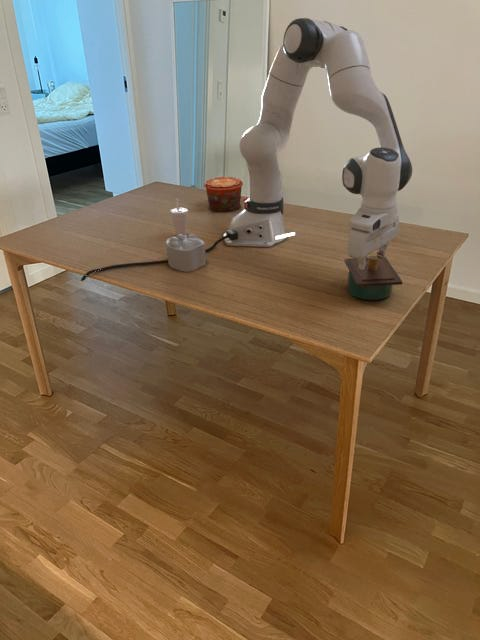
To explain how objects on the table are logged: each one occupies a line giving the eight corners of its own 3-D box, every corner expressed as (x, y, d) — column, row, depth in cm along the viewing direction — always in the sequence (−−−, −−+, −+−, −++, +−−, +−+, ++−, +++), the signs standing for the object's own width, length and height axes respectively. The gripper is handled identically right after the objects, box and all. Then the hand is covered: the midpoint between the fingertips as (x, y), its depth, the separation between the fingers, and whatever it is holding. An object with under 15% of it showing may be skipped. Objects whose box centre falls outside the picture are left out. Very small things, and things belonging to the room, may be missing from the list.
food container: (213, 216, 198) (212, 189, 193) (200, 204, 211) (198, 179, 205) (249, 209, 204) (249, 183, 198) (234, 198, 216) (233, 174, 211)
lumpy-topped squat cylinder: (186, 273, 154) (184, 247, 150) (160, 262, 162) (156, 238, 157) (210, 262, 161) (208, 237, 156) (183, 252, 168) (181, 228, 164)
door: (356, 286, 130) (358, 271, 128) (344, 261, 144) (345, 247, 141) (402, 284, 130) (404, 269, 128) (385, 259, 144) (386, 245, 142)
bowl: (352, 302, 135) (354, 283, 132) (343, 282, 145) (344, 264, 142) (396, 300, 135) (399, 281, 132) (384, 280, 145) (386, 262, 142)
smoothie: (169, 237, 180) (165, 200, 173) (178, 231, 185) (174, 194, 178) (185, 239, 178) (181, 201, 171) (193, 233, 183) (189, 196, 176)
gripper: (386, 201, 136) (380, 248, 144) (345, 222, 124) (341, 272, 131) (407, 206, 133) (400, 253, 140) (367, 228, 120) (362, 279, 127)
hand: (371, 262), depth 135 cm, fingers open, 8 cm apart
